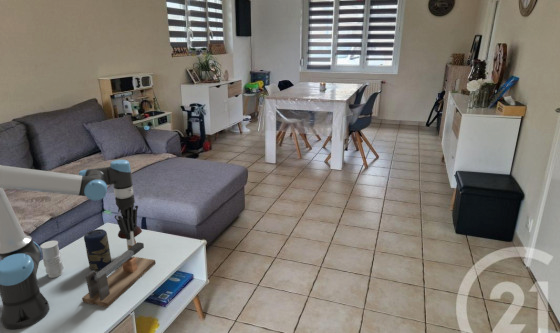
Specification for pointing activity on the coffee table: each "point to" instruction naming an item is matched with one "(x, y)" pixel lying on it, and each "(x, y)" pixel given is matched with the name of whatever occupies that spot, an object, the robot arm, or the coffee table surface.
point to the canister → (97, 249)
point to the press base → (115, 281)
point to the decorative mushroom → (136, 232)
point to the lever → (119, 260)
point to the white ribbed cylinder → (52, 259)
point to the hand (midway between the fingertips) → (131, 244)
